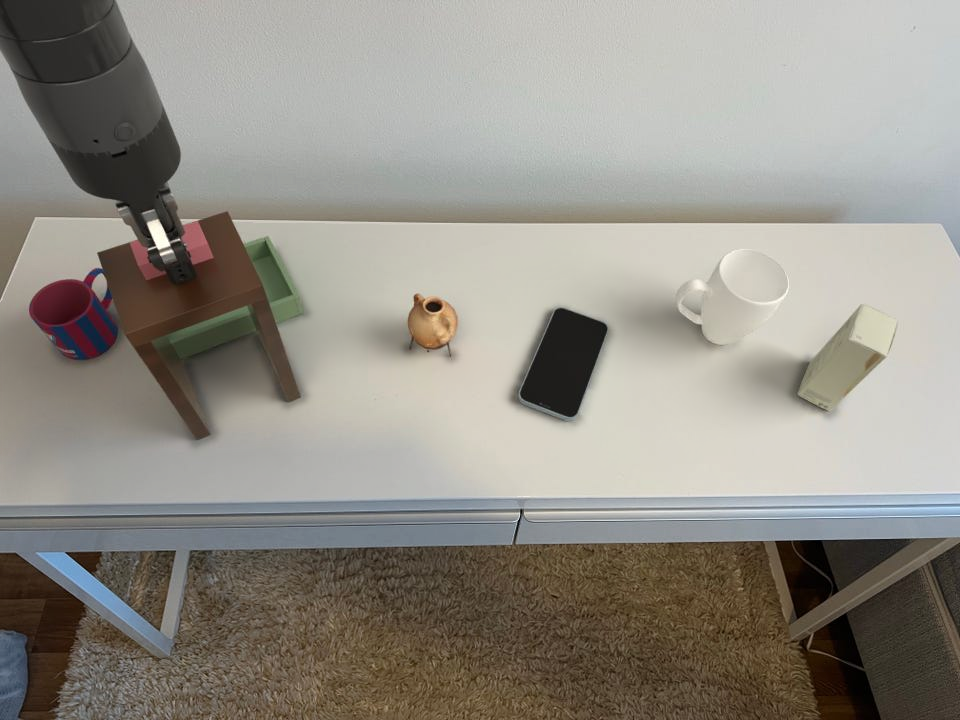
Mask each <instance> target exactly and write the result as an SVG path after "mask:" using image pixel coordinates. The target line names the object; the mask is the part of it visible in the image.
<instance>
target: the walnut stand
mask: <svg viewBox="0 0 960 720" xmlns="http://www.w3.org/2000/svg"><path fill="white" fill-rule="evenodd" d="M196 221H198V223H199V225H200V227H201V229H202V232H203V234H204V236H205V238H206V241H207V243H208V245H209V248H210V250H211V253H212V255H213V258H212V259H209V260H206V261H203V262H200V263H197V264H194V265H193V266H194V268H195V271H196V273H197V277H196V278H195V279H193V280H190V281H187V282H184V283H181V284H177V285H175V284H172V283H171V281H170V279H169V277H168V275H167V274H164V275H161V276H158V277H155V278H152V279H149V280H146V279H145V277H144V275H143V274H142V272H141V270H140V268H139V267H138V264H137V261H136V259H135V256H134V253H133V251H132V248H131V245H130V242H133V241H136V240H137V239H135V240H132V241H129V242H126V243H123V244H120V245H119V244H118V245H116V246H113V247H110V248H106V249H104V250H100V251H98V252H96V254H97V258H98V260H99V264H100V266H101V269H103V272H104V275H105V276H104V275H103V276H104V279H105V281H106V285H107V284H108V287H109V290H110V293H111V296H112V302H113V305H114V307H115V311H116V313H117V316H118V319H119V323H120V326H121V329H122V331H123V334H124V336H125V337H126V339H127V341H128V342H129V343H130V344H131V346H132V347H133V349H134V351H135V352H136V354H137V355H138V356H139V358H140V359H141V360H142V362H143V363H144V365H145V367H146V368H147V369H148V371H149V372H150V374H151V375H152V376H153V378H154V379H155V381H156V382H157V384H158V386H159V387H160V388H161V389H162V391H163V392H164V394H165V396H166V397H167V398H168V400H169V401H170V403H171V405H172V406H173V407H174V409H175V410H176V412H177V413H178V414H179V416H180V417H181V419H182V421H183V422H184V423H185V424H186V426H187V427H188V429H189V430H190V432H191V433H192V435H193V436H194V437H195V439H196V440H197V441H200V440H202V439H204V438H207V437H209V436H211V432H210V428H209V427H208V423H207V420H206V418H205V415H204V413H203V410H202V407H201V405H200V402H199V399H198V397H197V394H196V392H195V390H194V387H193V384H192V381H191V379H190V376H189V374H188V371H187V369H186V366H185V363H184V362H183V361H182V359H180V357H179V356H178V354H177V352H176V351H175V349H174V347H173V346H172V344H171V342H170V341H169V339H168V337H167V336H166V335H168V334H171V333H173V332H176V331H179V330H182V329H184V328H187V327H190V326H193V325H195V324H198V323H201V322H204V321H206V320H209V319H212V318H215V317H217V316H220V315H223V314H226V313H228V312H231V311H234V310H237V309H239V308H242V307H245V306H247V307H248V310H249V312H250V315H251V318H252V320H253V323H254V325H255V328H256V331H255V332H256V333H257V336H258V338H259V340H260V342H261V345H262V347H263V349H264V351H265V354H266V356H267V359H268V360H269V362H270V364H271V367H272V369H273V371H274V373H275V376H276V378H277V381H278V382H279V384H280V387H281V389H282V391H283V394H284V395H285V397H286V400H287V402H288V403H291V402H293V401H295V400H298V399H300V398H301V397H302V396H301V393H300V390H299V387H298V384H297V381H296V378H295V376H294V373H293V370H292V366H291V363H290V360H289V357H288V355H287V352H286V351H287V350H286V349H285V345H284V342H283V340H282V336H281V334H280V330H279V328H278V325H277V323H276V322H275V319H274V316H273V313H272V310H271V307H270V304H269V301H268V298H267V295H266V292H265V289H264V286H263V284H262V282H261V280H260V277H259V275H258V273H257V271H256V269H255V267H254V265H253V263H252V261H251V259H250V257H249V254H248V252H247V250H246V248H245V246H244V244H245V243H244V242H243V240H242V238H241V236H240V233H239V231H238V230H237V227H236V225H235V224H234V221H233V219H232V216H231V215H230V213H229V211H228V210H227V211H224V212H223V211H222V212H220V213H217V214H213V215H211V216H210V215H209V216H208V217H205V218H201V219H198V220H194V221H192V222H191V223H193V222H196ZM189 223H190V222H188V223H186V224H189ZM186 224H184V225H186Z"/></svg>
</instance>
